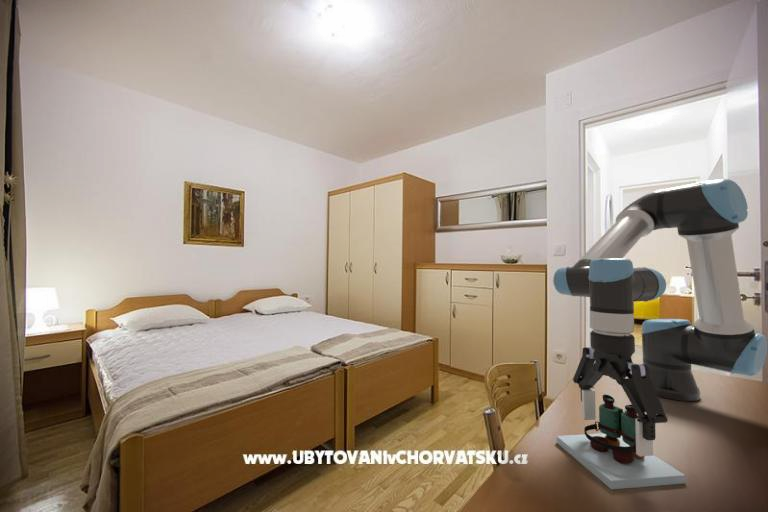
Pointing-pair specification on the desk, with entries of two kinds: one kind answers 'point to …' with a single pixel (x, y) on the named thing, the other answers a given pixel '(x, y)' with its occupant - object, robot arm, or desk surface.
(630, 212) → the robot arm
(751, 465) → the desk surface
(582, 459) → the board
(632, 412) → the binoculars
